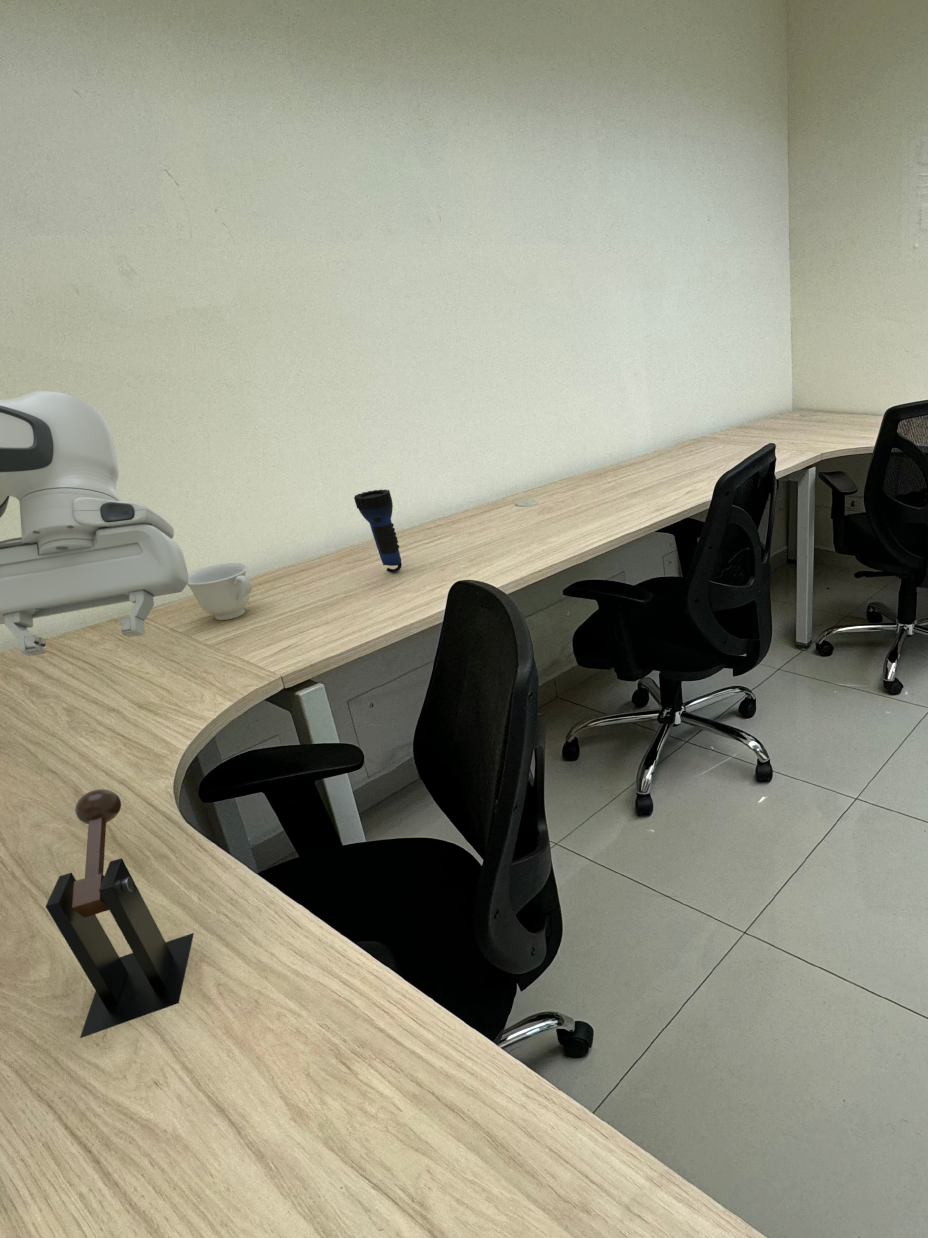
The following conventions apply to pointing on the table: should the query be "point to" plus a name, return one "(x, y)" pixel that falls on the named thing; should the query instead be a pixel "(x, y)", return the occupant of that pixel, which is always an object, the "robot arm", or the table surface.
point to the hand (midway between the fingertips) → (84, 644)
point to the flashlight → (381, 524)
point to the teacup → (221, 589)
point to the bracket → (117, 980)
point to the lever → (94, 849)
